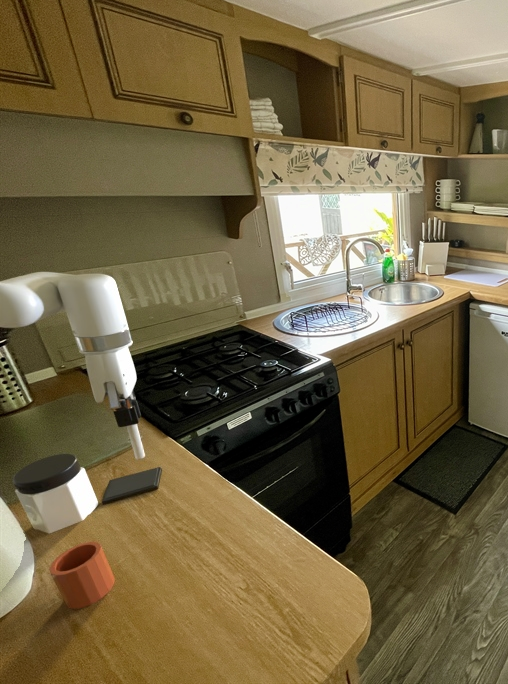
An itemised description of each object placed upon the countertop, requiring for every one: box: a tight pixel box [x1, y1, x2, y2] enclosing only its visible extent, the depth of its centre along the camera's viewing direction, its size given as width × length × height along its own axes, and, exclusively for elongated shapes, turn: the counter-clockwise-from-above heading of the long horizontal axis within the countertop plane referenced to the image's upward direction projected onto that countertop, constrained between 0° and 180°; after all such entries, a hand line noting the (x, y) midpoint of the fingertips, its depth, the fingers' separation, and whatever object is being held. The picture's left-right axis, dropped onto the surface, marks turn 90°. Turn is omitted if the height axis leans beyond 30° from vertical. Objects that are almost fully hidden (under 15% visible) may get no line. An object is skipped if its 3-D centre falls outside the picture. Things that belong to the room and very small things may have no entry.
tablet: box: [101, 466, 163, 506], centre depth 81 cm, size 9×7×1 cm
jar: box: [12, 453, 100, 535], centre depth 71 cm, size 9×8×12 cm
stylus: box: [120, 399, 146, 460], centre depth 77 cm, size 2×2×15 cm
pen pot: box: [48, 541, 116, 610], centre depth 58 cm, size 6×6×8 cm
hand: (130, 421), depth 77 cm, fingers closed on stylus, 1 cm apart
